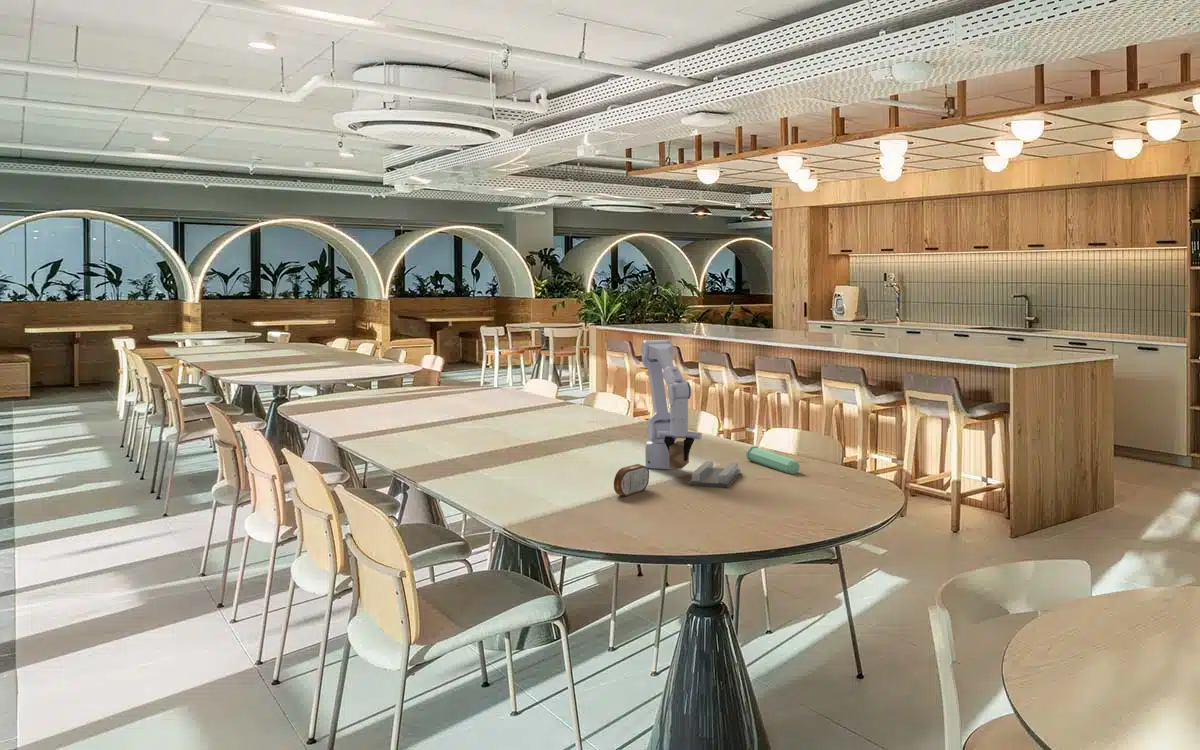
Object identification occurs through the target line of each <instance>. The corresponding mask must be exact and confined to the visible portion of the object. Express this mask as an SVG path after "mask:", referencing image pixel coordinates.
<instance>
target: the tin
mask: <svg viewBox="0 0 1200 750" xmlns="http://www.w3.org/2000/svg"><path fill="white" fill-rule="evenodd" d="M649 480H650V470H649V468H647V467H646V465H641V464H640V463H636V464H633V465H628V466H624V467H622V468H620V469H619V470H618V471H616V473H615V476H614V479H613V490H614V492H615V493H616V494H617V495H618V496H623V497H625V496H626V497H629V496H631V495H635V494H638V493H641V492H643V491H645V490H646V488H647V486H648V484H649Z"/></svg>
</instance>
